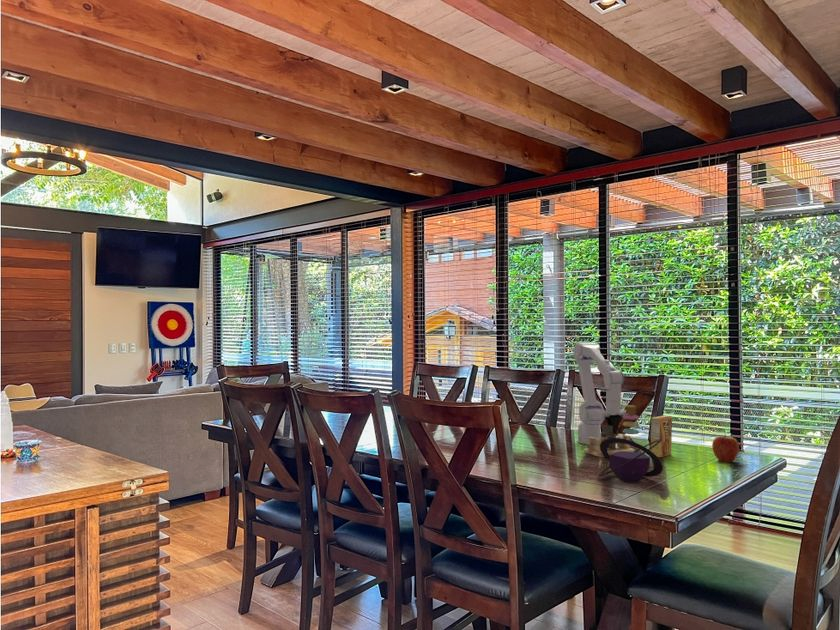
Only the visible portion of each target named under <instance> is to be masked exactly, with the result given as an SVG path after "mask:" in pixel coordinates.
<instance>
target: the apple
mask: <svg viewBox="0 0 840 630" xmlns="http://www.w3.org/2000/svg"><path fill="white" fill-rule="evenodd" d="M711 448H712V451H713V454H714V456H715V458H716V459H717V460H718V461H720V462H723V461H724V462H723V463H733V461H735V460H736V458H737V456H738V454H739V451H740V446H739V442H738V440H737V439H736V438H734V437H733V436H727V435H726V434H724V436H723V435H722V436H721V435H718V436H716V437H715V438H714V439H713V441H712V447H711Z"/></svg>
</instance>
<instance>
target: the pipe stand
mask: <svg viewBox="0 0 840 630" xmlns="http://www.w3.org/2000/svg"><path fill="white" fill-rule="evenodd" d="M608 438H610V436H607V437H600V438H594V437H588V445H587V448H583V453H585V454H588V455H593V456H596V457H599V458H605V457H604V456H603V454H602V452H601V450H600V444H601V442H602V441H603V440H605V439H608ZM616 438H621V439H626V440H629V441H631V436H630V435H629V434H625V433H618V434H617V433H616ZM623 447H624V448H623ZM615 451H616V452H618V451H626V452H634V451H636V450H635V448H631V445H628V444H624V443H616V449H608V448H607V452H608V454H609V456H610V454H613V453H615Z"/></svg>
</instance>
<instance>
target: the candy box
mask: <svg viewBox="0 0 840 630" xmlns="http://www.w3.org/2000/svg"><path fill="white" fill-rule="evenodd" d="M650 420H651V422H650V423H651V425H650V428H651V429H650V433H651V435H650V443H651V442H654V441H656V440H659V439H662V440H661V442H660V443H659V444H657V445H656V446H655V447H653V448H652V449H650V451H651V452H652V453H654V454H655V455H656V456H657V457H658V458H659V457H660V458H663V457H667V456H672V440H673V439H672V438H673V437H672V435H673V434H672V432H673V431H672V430H673V417H672V416H669V415H660V416H659V415H658V416H653V417H651V419H650ZM656 443H657V442H655V443H653V444H650V448H651V447H652V446H653V445H655V444H656Z"/></svg>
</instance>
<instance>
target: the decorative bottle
mask: <svg viewBox="0 0 840 630" xmlns="http://www.w3.org/2000/svg"><path fill="white" fill-rule="evenodd" d="M624 410H626V414H625V415H622V419H624V420H629V421H624V422H623V423H622V426H624V427H629V428H624V429H623V430H622V434H624V435H638V434H640V431H639V430H638V429H635V428H636V427H639V426H640V424H639V423H638V422H636V421H631V420H639V419H640V417H639V415H637V413H636V411H637V406H636V405H633V404H632V405H631V404H626V405H625V409H624ZM661 440H662V439H659V440H656V441H654V442H651V441H650V442H649V443H648V444H645V445H641V444H639V443H637V442H635V441H632V440H630V441H629V440H626V439H621V438H608V439H605V440H603V441H602V442H601V444H600V450H601V452H602V454H603V456H604V457H603V458H605V459H606V460H607V461H608V466H607V467H606V468H605V469H604V470H603V471H601V472H600V473H599V474H598V477H603V476H605V475H609V474H610V473H613V474H614V475H615V476H616V478H617V479H618V480H620V481H621V482H623V483H628V484H639V483H640V481H642V479H643V478H645V477H647V478H648V477H649V478H651V477H653V478H654V477H658V475H661V474H662V472H663V470H664V467H663V463H662V461H661V459H660V458H659V457H657V456H656V455H655V454H654V453H652V452H651V449H652V448H653V447H655V446H656V445H657V444H659V443H660V442H661ZM655 442H657V443H656V444H655V445H653V446H652V447H651V444H653V443H655ZM612 443H616V444H617V443H624V444H628V445H630V447H631V446H632V447H633V448H636V450H635V451H634V452H626V451H618V452H616V451H615V453H613V454H610V456H609V454H608V452H607V447H608V446H609V445H610V444H612ZM648 446H650V447H649V448H647V447H648ZM623 448H624V447H623ZM639 451H642V452H639ZM651 460H652V462H653V464H654V468H653V469H652V470H651V471H649V470H650V466H651V465H650V464H651ZM609 469H610V470H609ZM608 470H609V471H608Z"/></svg>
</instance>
